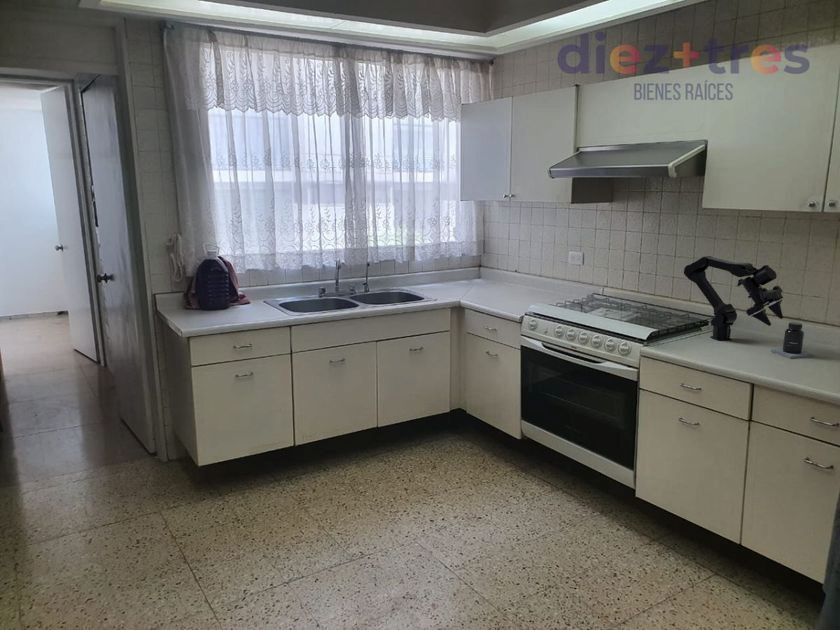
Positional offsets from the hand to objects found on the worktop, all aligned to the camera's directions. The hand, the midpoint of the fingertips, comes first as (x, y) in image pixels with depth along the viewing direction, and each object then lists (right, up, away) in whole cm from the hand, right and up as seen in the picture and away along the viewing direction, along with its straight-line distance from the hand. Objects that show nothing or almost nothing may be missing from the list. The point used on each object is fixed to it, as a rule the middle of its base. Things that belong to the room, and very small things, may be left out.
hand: (776, 321), depth 260 cm
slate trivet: (+3, -13, -6) cm, 15 cm away
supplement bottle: (+3, -12, -6) cm, 14 cm away
